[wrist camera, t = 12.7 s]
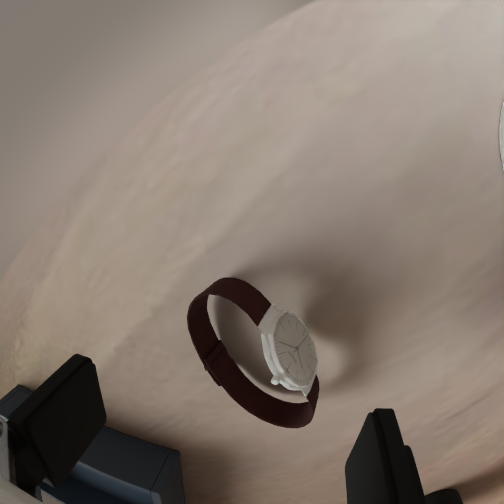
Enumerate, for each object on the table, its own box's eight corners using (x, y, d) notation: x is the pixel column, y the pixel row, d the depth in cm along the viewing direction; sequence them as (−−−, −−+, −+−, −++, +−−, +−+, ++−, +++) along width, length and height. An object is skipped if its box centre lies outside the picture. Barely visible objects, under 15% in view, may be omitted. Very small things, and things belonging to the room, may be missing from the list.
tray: (55, 467, 23) (38, 489, 19) (18, 383, 20) (-10, 407, 16) (187, 521, 21) (176, 552, 17) (179, 451, 18) (159, 494, 14)
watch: (342, 381, 14) (348, 432, 11) (262, 413, 16) (251, 463, 12) (260, 249, 13) (244, 278, 10) (175, 299, 15) (140, 335, 11)
